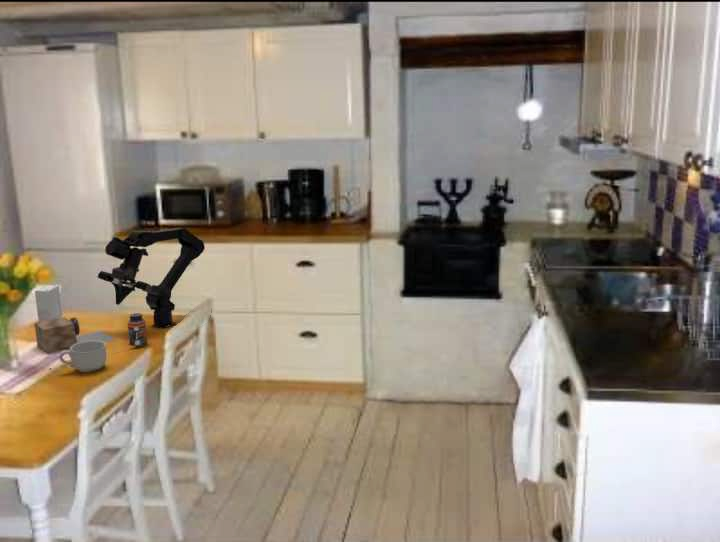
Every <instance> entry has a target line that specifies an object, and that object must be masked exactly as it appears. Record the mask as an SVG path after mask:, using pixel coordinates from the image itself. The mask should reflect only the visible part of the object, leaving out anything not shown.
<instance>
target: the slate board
mask: <svg viewBox="0 0 720 542" xmlns="http://www.w3.org/2000/svg"><path fill="white" fill-rule="evenodd" d="M76 340H77V343H79V342H83V341H91V340H96V341H102V342H104V343H108V342H112V341H117V339H116V338H114V337H112V336H111V335H109V334H107V333H106V332H104V331H102V330H98V331H95V332H94V331H93V332H89V333H85V334H81V335H80V334H79V335H77V336H76ZM35 345H36V346H37V344H35ZM37 347H38V346H37ZM66 350H68V351H70V349H66ZM41 351H43V350H42V349H41ZM62 351H64V350H61V351H57V352H52V353H48V354H47V353H46V352H44V353H45V354H47V355H48V356H51V355H55V354H60V353H61V352H62Z"/></svg>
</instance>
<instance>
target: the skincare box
mask: <svg viewBox="0 0 720 542" xmlns="http://www.w3.org/2000/svg"><path fill="white" fill-rule="evenodd" d="M34 297H35V305H36V311H37V312H36V313H37V319H38V322H43V321H48V320H53V319H58V318H63V317H64V316H63V308H62V303H61V294H60V286H59V285H48V284H47V285H44V286H42V287H39V288H38V289H35V290H34Z"/></svg>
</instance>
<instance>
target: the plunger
mask: <svg viewBox="0 0 720 542" xmlns="http://www.w3.org/2000/svg"><path fill="white" fill-rule="evenodd" d="M69 320H70V321H71V322H73V323H74V324H75V332H76V336H80V325H79V321H78V319H77V318H76V317H70V318H69Z"/></svg>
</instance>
